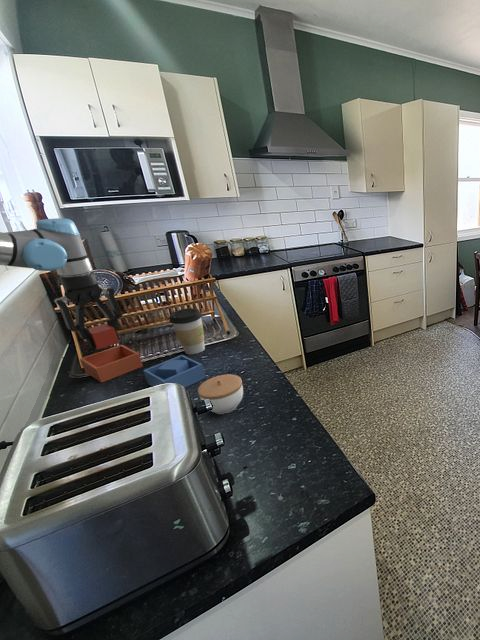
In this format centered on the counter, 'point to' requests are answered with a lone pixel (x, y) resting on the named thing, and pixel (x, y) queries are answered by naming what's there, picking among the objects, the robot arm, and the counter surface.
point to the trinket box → (222, 392)
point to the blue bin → (184, 378)
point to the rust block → (103, 335)
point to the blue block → (172, 368)
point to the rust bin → (111, 363)
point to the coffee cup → (189, 329)
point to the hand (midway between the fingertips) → (104, 343)
